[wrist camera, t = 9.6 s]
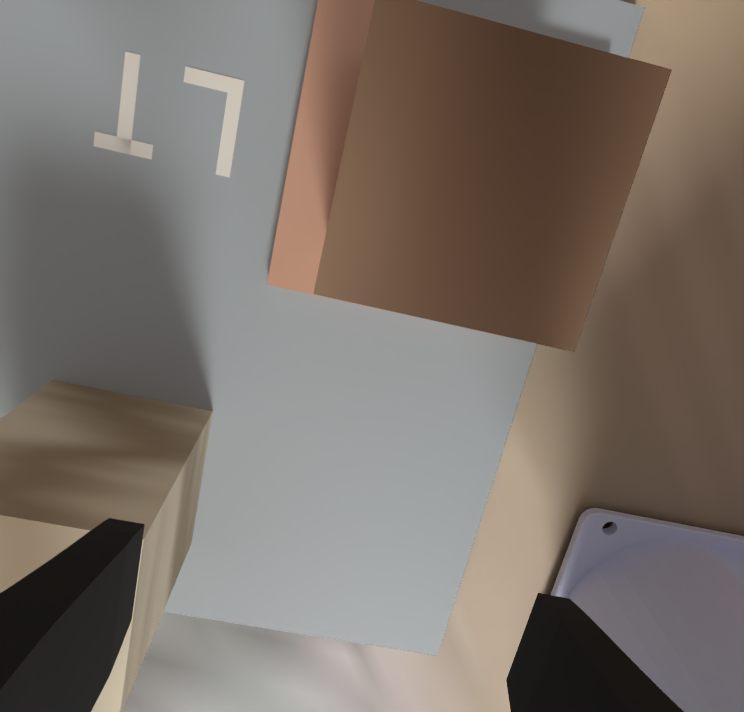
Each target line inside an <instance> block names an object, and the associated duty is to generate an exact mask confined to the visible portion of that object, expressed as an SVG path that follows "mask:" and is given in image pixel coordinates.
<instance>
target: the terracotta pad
mask: <svg viewBox="0 0 744 712" xmlns="http://www.w3.org/2000/svg"><path fill="white" fill-rule="evenodd" d="M374 2H375V0H318V3H317V8H316V14H315V19H314V25H313V31H312V36H311V42H310V47H309V53H308V58H307V64H306V69H305V75H304V81H303V86H302V92H301V97H300V103H299V108H298V114H297V119H296V125H295V131H294V136H293V142H292V147H291V153H290V158H289V164H288V169H287V175H286V181H285V186H284V192H283V197H282V203H281V208H280V214H279V219H278V225H277V231H276V236H275V242H274V247H273V253H272V258H271V264H270V269H269V275H268V281H267V285H271V286H275V287H280V288H285V289H289V290H294V291H298V292H303V293H308V294H312V295H315V294H313V293H314V288H315V283H316V279H317V274H318V269H319V264H320V259H321V255H322V250H323V245H324V240H325V236H326V231H327V226H328V221H329V217H330V212H331V207H332V202H333V197H334V193H335V188H336V183H337V178H338V174H339V169H340V164H341V159H342V154H343V150H344V145H345V140H346V135H347V131H348V126H349V121H350V116H351V112H352V107H353V102H354V97H355V92H356V88H357V83H358V78H359V73H360V69H361V64H362V59H363V54H364V50H365V45H366V40H367V35H368V30H369V26H370V21H371V16H372V11H373V7H374ZM317 296H320V295H317ZM322 297H324V296H322ZM326 298H329V297H326ZM331 299H333V298H331ZM336 300H338V299H336ZM340 301H342V300H340ZM345 302H347V301H345ZM350 303H351V302H350ZM354 304H356V303H354ZM359 305H360V304H359ZM363 306H365V305H363ZM368 307H370V306H368ZM373 308H374V307H373ZM377 309H379V308H377ZM382 310H383V309H382ZM387 311H388V310H387ZM391 312H392V311H391ZM396 313H397V312H396ZM405 315H406V314H405ZM414 317H415V316H414Z"/></svg>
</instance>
